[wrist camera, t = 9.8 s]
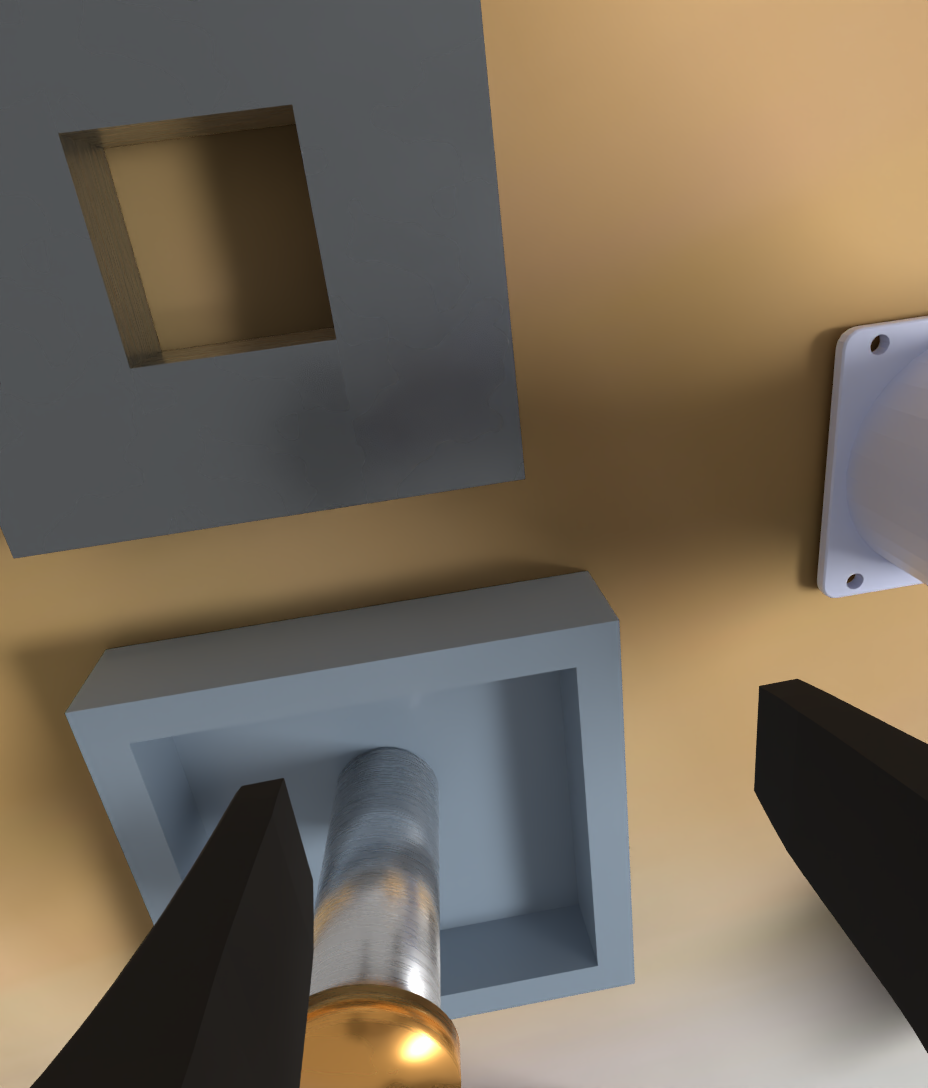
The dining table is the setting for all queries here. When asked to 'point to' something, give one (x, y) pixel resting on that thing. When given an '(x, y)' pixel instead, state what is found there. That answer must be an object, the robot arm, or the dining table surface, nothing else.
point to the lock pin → (380, 935)
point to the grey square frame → (268, 362)
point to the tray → (410, 725)
